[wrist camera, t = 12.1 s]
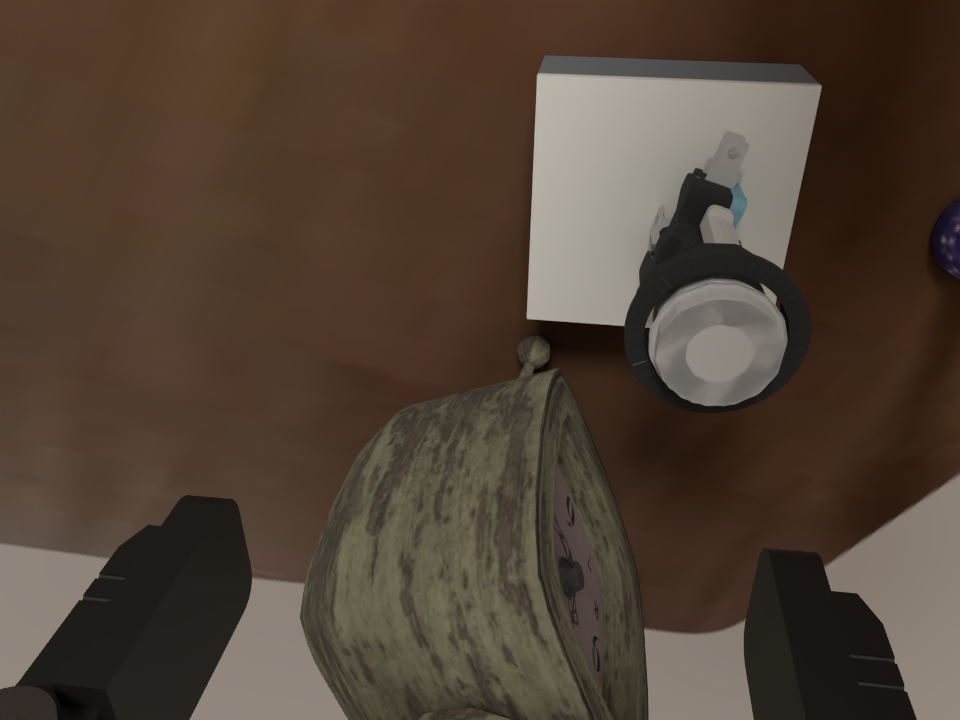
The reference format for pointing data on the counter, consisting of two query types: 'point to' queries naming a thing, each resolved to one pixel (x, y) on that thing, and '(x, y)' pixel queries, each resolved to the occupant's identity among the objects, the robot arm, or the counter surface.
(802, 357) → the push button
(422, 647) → the tabletop clock
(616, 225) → the plinth
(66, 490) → the counter surface
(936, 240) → the toy lamp
